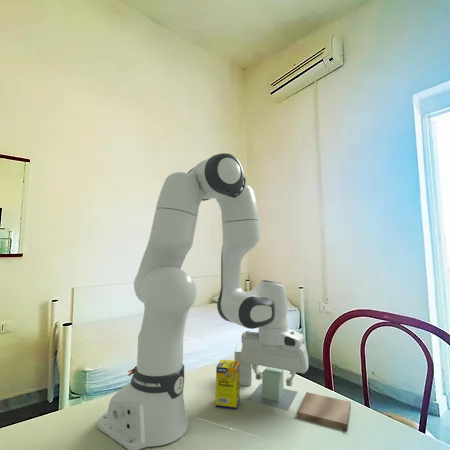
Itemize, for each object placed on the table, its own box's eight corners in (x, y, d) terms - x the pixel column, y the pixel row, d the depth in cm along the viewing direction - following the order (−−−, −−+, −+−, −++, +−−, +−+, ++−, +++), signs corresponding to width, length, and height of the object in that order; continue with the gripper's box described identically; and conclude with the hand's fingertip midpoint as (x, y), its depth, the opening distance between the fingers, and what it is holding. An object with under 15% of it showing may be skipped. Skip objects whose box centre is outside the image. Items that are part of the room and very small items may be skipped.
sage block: (262, 397, 86) (262, 372, 87) (267, 390, 91) (267, 366, 92) (278, 401, 84) (278, 375, 85) (283, 393, 89) (283, 369, 89)
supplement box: (236, 410, 80) (237, 368, 81) (215, 408, 81) (215, 366, 82) (240, 399, 85) (240, 360, 86) (219, 397, 87) (220, 359, 88)
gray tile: (246, 400, 85) (246, 399, 85) (260, 384, 96) (260, 383, 96) (287, 411, 80) (287, 410, 80) (297, 392, 90) (297, 391, 90)
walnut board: (297, 417, 76) (297, 411, 77) (306, 397, 87) (306, 392, 87) (347, 430, 71) (347, 424, 71) (350, 407, 82) (350, 401, 82)
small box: (236, 374, 103) (236, 343, 103) (252, 375, 102) (252, 344, 103) (233, 385, 95) (234, 351, 96) (251, 386, 94) (251, 352, 95)
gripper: (237, 332, 91) (237, 379, 90) (304, 342, 82) (305, 394, 81) (245, 328, 97) (245, 371, 96) (309, 336, 88) (310, 384, 86)
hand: (273, 382), depth 88 cm, fingers open, 8 cm apart
